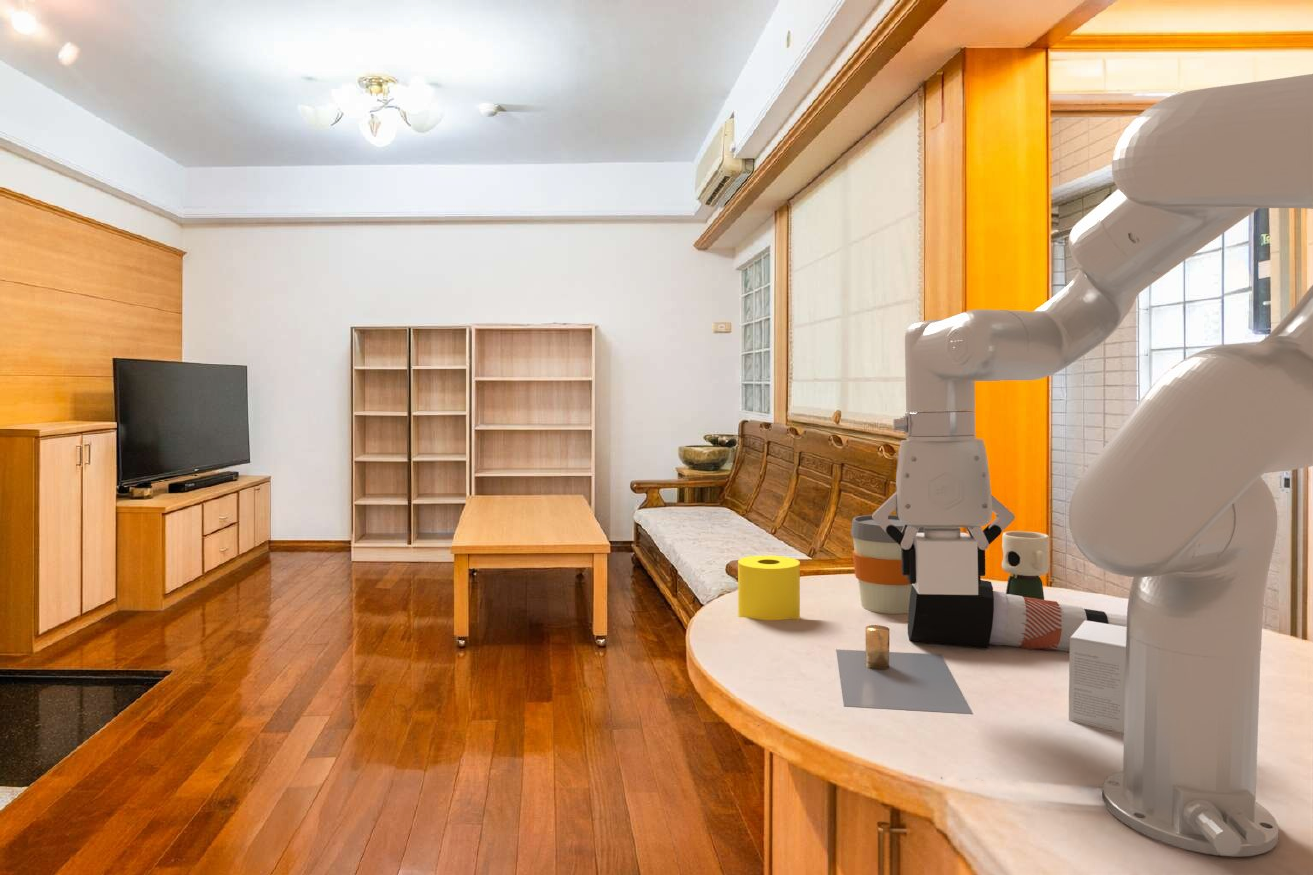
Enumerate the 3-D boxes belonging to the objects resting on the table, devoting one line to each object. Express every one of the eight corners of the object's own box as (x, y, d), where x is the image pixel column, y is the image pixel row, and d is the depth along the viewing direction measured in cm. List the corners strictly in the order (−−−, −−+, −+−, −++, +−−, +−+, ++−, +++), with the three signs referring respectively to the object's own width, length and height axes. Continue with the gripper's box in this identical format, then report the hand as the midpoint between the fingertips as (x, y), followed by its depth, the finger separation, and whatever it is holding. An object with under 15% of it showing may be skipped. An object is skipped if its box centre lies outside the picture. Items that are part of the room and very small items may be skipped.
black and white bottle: (1173, 700, 105) (1198, 645, 99) (907, 655, 113) (917, 602, 108) (1153, 645, 113) (1175, 592, 108) (907, 607, 121) (916, 556, 116)
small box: (1082, 707, 92) (1083, 618, 91) (1137, 719, 88) (1140, 627, 87) (1066, 730, 85) (1068, 635, 85) (1125, 745, 82) (1127, 646, 81)
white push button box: (978, 594, 88) (977, 532, 87) (918, 594, 89) (917, 532, 88) (966, 582, 94) (965, 524, 94) (910, 581, 95) (909, 524, 95)
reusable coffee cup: (844, 596, 142) (844, 514, 141) (914, 596, 141) (915, 514, 140) (859, 616, 129) (859, 526, 128) (936, 616, 129) (937, 526, 128)
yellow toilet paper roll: (785, 631, 122) (785, 571, 121) (728, 621, 127) (727, 564, 127) (808, 615, 130) (808, 559, 130) (753, 607, 136) (753, 553, 135)
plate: (972, 724, 87) (973, 713, 87) (843, 716, 90) (843, 705, 90) (941, 662, 107) (941, 654, 107) (836, 657, 109) (836, 649, 109)
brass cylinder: (890, 670, 101) (890, 632, 100) (866, 669, 101) (866, 631, 101) (887, 662, 104) (888, 625, 103) (864, 661, 104) (864, 624, 104)
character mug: (988, 603, 136) (989, 529, 136) (1029, 602, 137) (1030, 528, 136) (1019, 621, 126) (1020, 541, 125) (1063, 620, 126) (1064, 540, 125)
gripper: (865, 430, 89) (868, 588, 89) (1029, 426, 85) (1031, 590, 86) (860, 428, 96) (863, 574, 96) (1011, 425, 93) (1013, 576, 93)
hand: (942, 580), depth 91 cm, fingers closed on white push button box, 6 cm apart
